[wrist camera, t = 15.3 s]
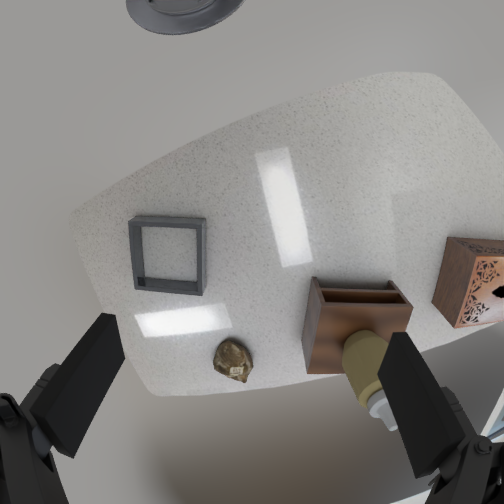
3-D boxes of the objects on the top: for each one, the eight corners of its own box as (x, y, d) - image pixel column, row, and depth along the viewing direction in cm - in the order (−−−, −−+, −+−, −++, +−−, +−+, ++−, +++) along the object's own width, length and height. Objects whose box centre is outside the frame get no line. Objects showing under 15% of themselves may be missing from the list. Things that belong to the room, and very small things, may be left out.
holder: (136, 215, 49) (128, 221, 45) (205, 218, 49) (201, 224, 45) (141, 280, 53) (134, 289, 50) (205, 286, 53) (202, 296, 50)
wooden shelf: (311, 276, 52) (321, 305, 42) (392, 280, 51) (413, 307, 42) (301, 339, 57) (306, 374, 47) (374, 340, 56) (389, 371, 47)
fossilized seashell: (251, 384, 58) (263, 345, 56) (233, 397, 53) (246, 357, 51) (222, 368, 62) (232, 330, 60) (204, 379, 56) (213, 338, 54)
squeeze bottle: (342, 323, 43) (375, 412, 26) (388, 323, 43) (433, 403, 26) (332, 362, 46) (354, 449, 29) (375, 360, 46) (407, 440, 29)
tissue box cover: (431, 302, 53) (454, 328, 44) (447, 237, 48) (476, 255, 39) (504, 296, 52) (526, 315, 43) (520, 242, 47) (546, 257, 38)
